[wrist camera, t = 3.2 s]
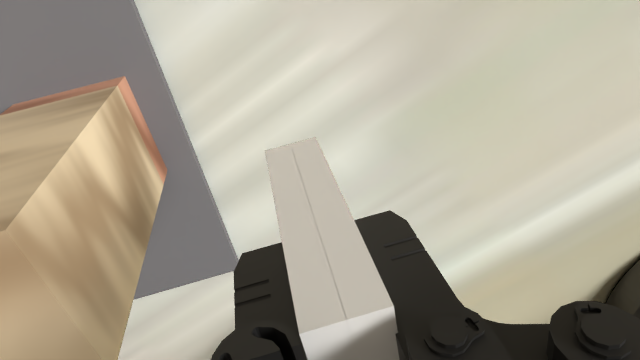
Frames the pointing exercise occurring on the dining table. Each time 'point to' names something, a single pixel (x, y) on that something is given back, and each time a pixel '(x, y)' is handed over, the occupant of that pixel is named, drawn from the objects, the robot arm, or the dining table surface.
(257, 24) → the dining table surface
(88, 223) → the wood block
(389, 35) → the dining table surface
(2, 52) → the mat
